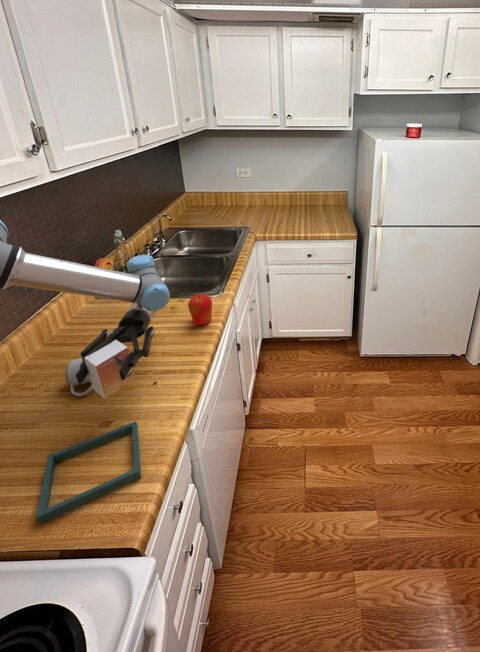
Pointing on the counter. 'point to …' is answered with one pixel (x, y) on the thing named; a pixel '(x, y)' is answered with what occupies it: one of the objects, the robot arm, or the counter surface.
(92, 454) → the counter surface
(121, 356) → the small box
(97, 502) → the counter surface
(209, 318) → the apple
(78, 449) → the empty rectangular frame
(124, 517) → the counter surface
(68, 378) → the ceramic mug
